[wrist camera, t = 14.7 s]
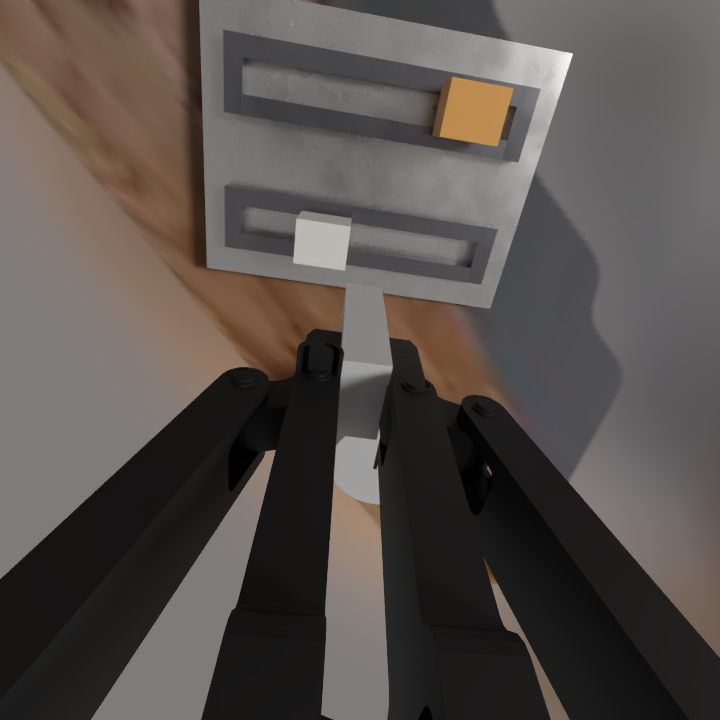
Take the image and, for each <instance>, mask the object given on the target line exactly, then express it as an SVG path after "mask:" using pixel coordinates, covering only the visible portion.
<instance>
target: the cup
mask: <svg viewBox="0 0 720 720" xmlns="http://www.w3.org/2000/svg"><path fill="white" fill-rule="evenodd" d="M379 440H380V430H379V432H378V436H377V440H373V439H365V438H356V437H347V436H339V435H337V439H336V453H335V468H334V481H335V483H336V484H337V485H338V487H339V488H340V489H341V490H342V491H343V492H345V493H346V494H348V495H349V496H351V497H353V498H355V499H357V500H360V501H363V502H366V503H372V504H380V500H379V480H378V466H377V469H373V466H374V462H375V457H376V453H377V449H378V444H379Z"/></svg>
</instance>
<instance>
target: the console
mask: <svg viewBox="0 0 720 720" xmlns="http://www.w3.org/2000/svg"><path fill="white" fill-rule="evenodd" d="M199 10H200V44H201V79H202V113H203V147H204V181H205V215H206V249H207V268H212V269H219V270H226V271H233V272H240V273H247V274H254V275H261V276H268V277H275V278H282V279H289V280H296V281H302V282H309V283H316V284H323V285H330V286H337V287H344V288H346V285H347V283H353V284H360V285H367V286H374V287H381V288H382V292H383V293H385V294H392V295H399V296H406V297H413V298H420V299H427V300H434V301H441V302H448V303H455V304H462V305H469V306H475V307H482V308H489V309H490V307H491V304H492V301H493V298H494V295H495V292H496V289H497V286H498V282H499V279H500V276H501V273H502V270H503V267H504V264H505V261H506V258H507V255H508V252H509V249H510V246H511V243H512V239H513V236H514V233H515V230H516V227H517V224H518V221H519V218H520V215H521V212H522V209H523V206H524V203H525V200H526V196H527V193H528V190H529V187H530V184H531V181H532V178H533V175H534V172H535V169H536V166H537V163H538V159H539V157H540V153H541V150H542V147H543V144H544V141H545V138H546V135H547V132H548V129H549V126H550V123H551V120H552V117H553V114H554V110H555V107H556V104H557V101H558V98H559V95H560V92H561V89H562V86H563V83H564V80H565V77H566V73H567V71H568V67H569V64H570V61H571V58H572V55H573V54H572V53H567V52H562V51H556V50H551V49H546V48H541V47H536V46H531V45H526V44H521V43H515V42H510V41H505V40H500V39H495V38H490V37H485V36H479V35H474V34H469V33H464V32H459V31H454V30H448V29H443V28H438V27H433V26H428V25H423V24H418V23H412V22H407V21H402V20H397V19H392V18H387V17H382V16H376V15H371V14H366V13H361V12H356V11H351V10H345V9H340V8H335V7H330V6H325V5H320V4H315V3H309V2H304V1H299V0H199ZM451 77H456V78H462V79H467V80H472V81H478V82H483V83H489V84H494V85H499V86H505V87H510V88H514V89H513V93H512V96H511V100H510V103H509V107H508V111H507V114H506V118H505V121H504V125H503V128H502V132H501V136H500V139H499V143H498V146H488V145H482V144H476V143H470V142H464V141H459V140H453V139H447V138H441V137H436V136H432V133H433V128H434V123H435V119H436V114H437V109H438V104H439V99H440V94H441V90H442V85H443V82H444V81H446V80H448V79H449V78H451ZM301 211H308V212H314V213H321V214H327V215H334V216H340V217H346V218H352V220H351V230H350V237H349V244H348V252H347V259H346V266H345V271H343V270H336V269H330V268H323V267H316V266H309V265H303V264H296V263H293V258H294V245H295V231H296V218H297V217H298V215H299V214H300V213H301Z"/></svg>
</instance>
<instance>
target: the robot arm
mask: <svg viewBox="0 0 720 720" xmlns="http://www.w3.org/2000/svg"><path fill="white" fill-rule="evenodd" d="M379 430H380V440H379V444H378V449H377V453H376V457H375V462H374V466H373V469H377V466H378V480H379V500H380V519H381V537H382V558H383V577H384V578H383V579H384V598H385V616H386V617H385V618H386V638H387V657H388V678H389V711H388V719H387V720H551V719H550V716H549V713H548V710H547V707H546V704H545V701H544V698H543V695H542V691H541V688H540V685H539V682H538V679H537V676H536V673H535V669H534V666H533V663H532V660H531V657H530V655H529V652H528V650H527V647H526V645H525V643H524V641H523V640H522V639H521V638H520V636H519V635H518V634H517V633H514V632H511V631H508V630H507V629H506V628H505V627H504V625H503V623H502V621H501V618H500V615H499V611H498V608H497V604H496V601H495V597H494V594H493V590H492V586H491V583H490V579H489V576H488V572H487V569H486V565H485V562H484V559H485V561H486V563H487V564H488V566H489V568H490V570H491V572H492V574H493V576H494V578H495V580H496V581H497V583H498V585H499V587H500V589H501V591H502V593H503V595H504V596H505V598H506V600H507V602H508V604H509V606H510V608H511V610H512V611H513V613H514V615H515V617H516V619H517V621H518V623H519V625H520V627H521V628H522V630H523V632H524V634H525V636H526V638H527V640H528V642H529V644H530V645H531V647H532V649H533V651H534V653H535V655H536V656H537V659H538V660H539V662H540V664H541V666H542V668H543V670H544V672H545V674H546V676H547V677H548V679H549V681H550V683H551V685H552V687H553V689H554V691H555V692H556V694H557V696H558V698H559V700H560V702H561V704H562V706H563V708H564V709H565V711H566V713H567V715H568V717H569V719H570V720H720V658H719V657H718V655H717V654H716V653H715V652H714V651H713V650H712V649H711V647H710V646H709V645H708V644H707V643H706V642H705V640H704V639H703V638H702V637H701V636H700V635H699V634H698V632H697V631H696V630H695V629H694V628H693V626H692V625H691V624H690V623H689V622H688V621H687V620H686V618H685V617H684V616H683V615H682V614H681V612H680V611H679V610H678V609H677V608H676V607H675V606H674V604H673V603H672V602H671V601H670V600H669V599H668V597H667V596H666V595H665V594H664V593H663V592H662V590H661V589H660V588H659V587H658V586H657V585H656V583H655V582H654V581H653V580H652V579H651V578H650V576H649V575H648V574H647V573H646V572H645V571H644V570H643V568H642V567H641V566H640V565H639V564H638V563H637V561H636V560H635V559H634V558H633V557H632V556H631V554H629V552H628V551H627V550H626V549H625V547H624V546H623V545H622V544H621V543H620V542H619V541H618V539H617V538H616V537H615V536H614V535H613V534H612V532H610V530H609V529H608V528H607V527H606V525H605V524H604V523H603V522H602V521H601V520H600V518H599V517H598V516H597V515H596V514H595V513H594V511H593V510H592V509H591V508H590V507H589V506H588V504H587V503H586V502H585V501H584V500H583V499H582V498H581V497H580V495H579V494H578V493H577V492H576V491H575V489H574V488H573V487H572V486H571V485H570V484H569V482H568V481H567V480H566V479H565V478H564V477H563V475H562V474H561V473H560V472H559V471H558V470H557V468H556V467H555V466H554V465H553V464H552V463H551V462H550V460H549V459H548V458H547V457H546V456H545V455H544V453H543V452H542V451H541V450H540V449H539V448H538V446H537V445H536V444H535V443H534V442H533V441H532V439H531V438H530V437H529V436H528V435H527V434H526V432H525V431H524V430H523V429H522V428H521V427H520V426H519V424H518V423H517V422H516V421H515V420H514V419H513V417H512V416H511V415H510V414H509V413H508V412H507V410H506V409H505V408H504V407H503V406H502V405H500V404H499V403H498V402H496V401H494V400H492V399H491V398H488V397H485V396H479V395H471V396H466V397H465V398H463V399H462V402H461V405H459V404H455V403H452V402H449V401H446V400H444V399H441V398H440V397H438V396H437V393H436V389H435V388H434V386H433V384H431V383H430V382H429V381H428V380H426V379H425V377H424V373H423V369H422V365H421V363H420V358H419V354H418V350H417V347H416V346H415V345H414V344H413V343H412V342H411V341H409V340H402V339H395V338H389V335H388V328H387V320H386V313H385V306H384V299H383V292H382V288H381V287H374V286H367V285H360V284H353V283H347V285H346V292H345V299H344V306H343V313H342V320H341V328H340V332H335V331H328V330H320V329H314V330H312V331H311V332H310V333H309V334H307V338H306V341H304V342H302V343H300V345H299V346H298V351H297V362H296V373H295V375H294V376H292V377H290V378H288V379H285V380H279V381H269V379H268V376H267V375H266V374H265V373H264V372H262V371H260V370H257V369H255V368H249V367H239V368H234V369H231V370H228V371H226V372H225V373H223V374H222V375H221V376H220V377H219V378H218V379H216V380H215V381H214V382H213V383H212V384H211V385H210V386H209V387H208V388H207V389H206V390H204V391H203V392H202V393H201V394H200V395H199V396H198V397H197V398H196V399H195V400H194V401H192V402H191V403H190V404H189V405H188V406H187V407H186V408H185V409H184V410H183V411H182V412H181V413H180V414H178V416H176V417H175V418H174V419H173V420H172V421H171V422H170V423H169V424H168V425H167V426H165V427H164V428H163V429H162V430H161V431H160V432H159V433H158V434H157V435H156V436H155V437H154V438H152V439H151V440H150V441H149V442H148V443H147V444H146V445H145V446H144V447H143V448H142V449H141V450H140V451H138V452H137V454H135V455H134V456H133V457H132V458H131V459H130V460H129V461H128V462H127V463H126V464H124V465H123V466H122V467H121V468H120V469H119V470H118V471H117V472H116V473H115V474H114V475H113V476H112V477H110V478H109V479H108V480H107V481H106V482H105V483H104V484H103V485H102V486H101V487H100V488H99V489H97V491H95V492H94V493H93V494H92V495H91V496H90V497H89V498H88V499H87V500H85V502H83V503H82V504H81V505H80V506H79V507H78V508H77V509H76V510H75V511H74V512H73V513H72V514H70V515H69V516H68V517H67V518H66V519H65V520H64V521H63V522H62V523H61V524H60V525H58V527H57V528H55V529H54V530H53V531H52V532H51V533H50V534H49V535H48V536H47V537H46V538H44V539H43V540H42V541H41V542H40V543H39V544H38V545H37V546H36V547H35V548H34V549H33V550H31V551H30V552H29V553H28V554H27V555H26V556H25V557H24V558H23V559H22V560H21V561H20V562H19V563H17V565H15V566H14V567H13V568H12V569H11V570H10V571H9V572H8V573H7V574H6V575H5V576H3V577H2V578H1V579H0V720H91V718H92V717H93V715H94V714H95V712H96V711H97V709H98V708H99V706H100V705H101V703H102V702H103V700H104V699H105V697H106V696H107V694H108V692H109V691H110V690H111V688H112V687H113V685H114V684H115V682H116V680H117V679H118V678H119V676H120V674H121V673H122V671H123V670H124V668H125V667H126V665H127V664H128V662H129V661H130V659H131V658H132V656H133V655H134V653H135V652H136V650H137V649H138V647H139V646H140V644H141V643H142V641H143V640H144V638H145V637H146V635H147V634H148V632H149V631H150V629H151V628H152V626H153V624H154V623H155V622H156V620H157V618H158V617H159V615H160V614H161V612H162V611H163V609H164V608H165V606H166V605H167V603H168V602H169V600H170V599H171V597H172V596H173V594H174V593H175V591H176V590H177V588H178V587H179V585H180V584H181V582H182V581H183V579H184V577H185V576H186V575H187V573H188V572H189V570H190V568H191V567H192V565H193V564H194V562H195V561H196V559H197V558H198V556H199V555H200V553H201V552H202V550H203V549H204V547H205V546H206V544H207V543H208V541H209V540H210V538H211V537H212V535H213V534H214V532H215V531H216V529H217V527H218V526H219V525H220V523H221V522H222V520H223V518H224V517H225V515H226V514H227V512H228V511H229V509H230V508H231V506H232V505H233V503H234V502H235V500H236V499H237V497H238V495H239V494H240V493H241V491H242V490H243V488H244V487H245V485H246V484H247V482H248V480H249V479H250V478H251V476H252V475H253V473H254V471H255V470H256V468H257V467H258V465H259V464H260V462H261V461H262V459H263V458H264V455H265V451H270V450H276V452H275V456H274V460H273V464H272V468H271V472H270V476H269V480H268V484H267V488H266V492H265V496H264V500H263V504H262V508H261V512H260V516H259V520H258V524H257V528H256V532H255V536H254V540H253V544H252V548H251V552H250V555H249V556H250V557H249V560H248V563H247V567H246V572H245V576H244V579H243V583H242V587H241V591H240V596H239V599H238V602H237V605H236V608H235V609H233V610H232V611H231V614H230V616H229V618H228V622H227V625H226V628H225V632H224V635H223V639H222V643H221V647H220V650H219V654H218V658H217V662H216V666H215V670H214V673H213V678H212V681H211V685H210V688H209V692H208V696H207V700H206V704H205V708H204V711H203V715H202V719H201V720H333V719H330V718H327V717H325V716H323V715H321V706H322V691H323V690H322V689H323V675H324V659H325V642H326V617H325V600H326V585H327V571H328V556H329V541H330V527H331V512H332V497H333V483H334V468H335V453H336V439H337V435H339V436H347V437H356V438H365V439H373V440H377V436H378V432H379ZM487 466H489V468H490V470H491V473H492V475H491V474H490V473H489V471H488V470H487ZM483 557H484V558H483Z"/></svg>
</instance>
